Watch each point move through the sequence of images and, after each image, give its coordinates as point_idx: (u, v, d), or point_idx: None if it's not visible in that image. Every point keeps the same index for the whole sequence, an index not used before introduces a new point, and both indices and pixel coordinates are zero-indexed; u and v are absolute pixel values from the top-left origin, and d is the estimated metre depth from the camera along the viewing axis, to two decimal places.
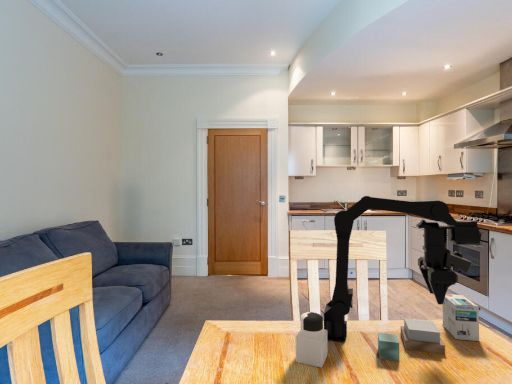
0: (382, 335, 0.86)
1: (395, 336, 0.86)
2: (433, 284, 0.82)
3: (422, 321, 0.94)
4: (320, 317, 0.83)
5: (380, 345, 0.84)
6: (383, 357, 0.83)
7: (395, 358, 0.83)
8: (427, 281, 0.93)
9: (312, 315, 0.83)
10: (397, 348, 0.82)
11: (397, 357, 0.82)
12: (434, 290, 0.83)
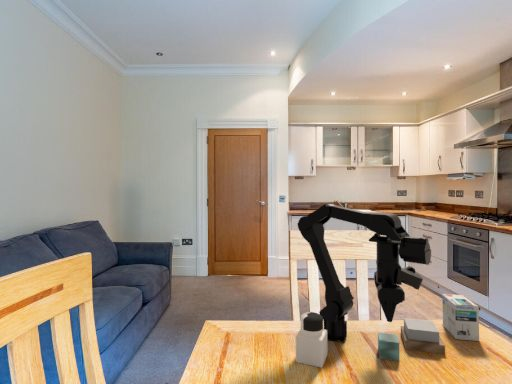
0: (382, 335, 0.86)
1: (395, 336, 0.86)
2: (382, 301, 0.80)
3: (422, 321, 0.94)
4: (320, 317, 0.83)
5: (380, 345, 0.84)
6: (383, 357, 0.83)
7: (395, 358, 0.83)
8: None
9: (312, 315, 0.83)
10: (397, 348, 0.82)
11: (397, 357, 0.82)
12: (383, 307, 0.80)
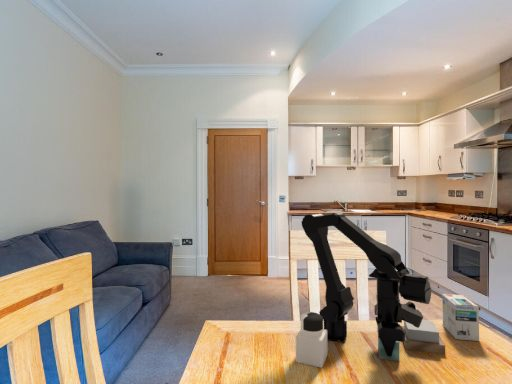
0: None
1: None
2: None
3: (422, 321, 0.94)
4: (320, 317, 0.83)
5: (380, 345, 0.84)
6: (383, 357, 0.84)
7: (395, 358, 0.83)
8: None
9: (312, 315, 0.83)
10: (397, 348, 0.82)
11: (397, 356, 0.82)
12: (383, 342, 0.82)
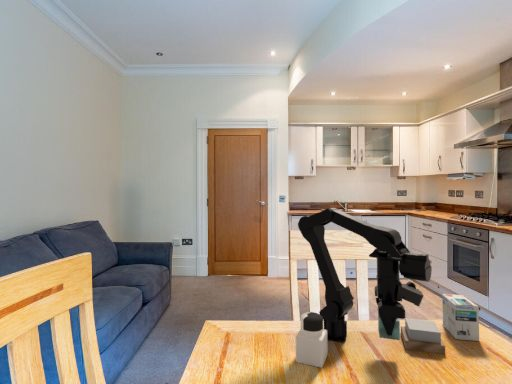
0: None
1: None
2: None
3: (423, 321, 0.94)
4: (320, 317, 0.83)
5: (380, 324, 0.84)
6: (383, 336, 0.83)
7: (396, 337, 0.82)
8: None
9: (312, 315, 0.83)
10: (397, 327, 0.82)
11: (397, 335, 0.82)
12: (383, 321, 0.82)
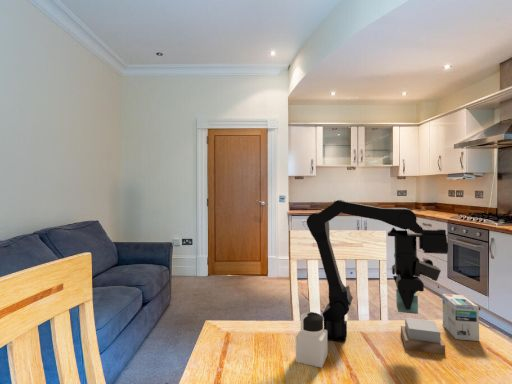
0: None
1: None
2: (400, 290, 0.85)
3: (423, 321, 0.94)
4: (320, 317, 0.83)
5: (399, 299, 0.87)
6: (402, 310, 0.87)
7: (414, 311, 0.86)
8: None
9: (312, 315, 0.83)
10: (415, 301, 0.85)
11: (416, 310, 0.85)
12: (401, 296, 0.85)
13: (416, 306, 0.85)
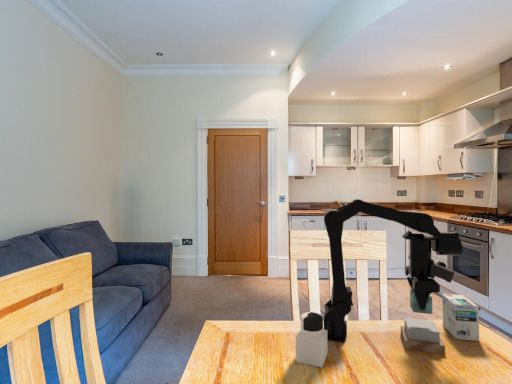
0: None
1: None
2: (416, 291, 0.88)
3: (422, 321, 0.94)
4: (320, 317, 0.83)
5: (414, 299, 0.90)
6: (417, 310, 0.90)
7: (428, 311, 0.89)
8: None
9: (312, 315, 0.83)
10: (430, 302, 0.89)
11: (430, 310, 0.89)
12: (417, 297, 0.88)
13: (430, 306, 0.89)
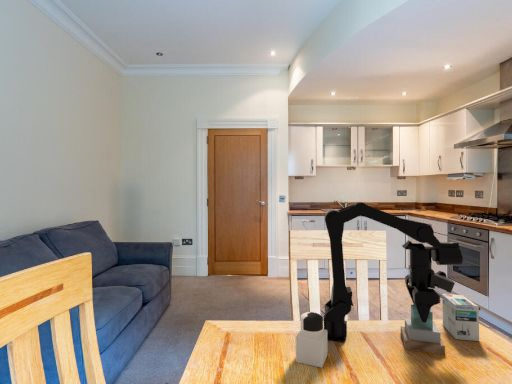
0: (415, 307, 0.93)
1: None
2: (417, 303, 0.86)
3: None
4: (320, 317, 0.83)
5: (414, 315, 0.90)
6: (417, 326, 0.90)
7: (429, 327, 0.89)
8: (413, 299, 0.96)
9: (312, 315, 0.83)
10: (430, 317, 0.89)
11: (430, 325, 0.89)
12: (418, 309, 0.87)
13: (431, 322, 0.89)
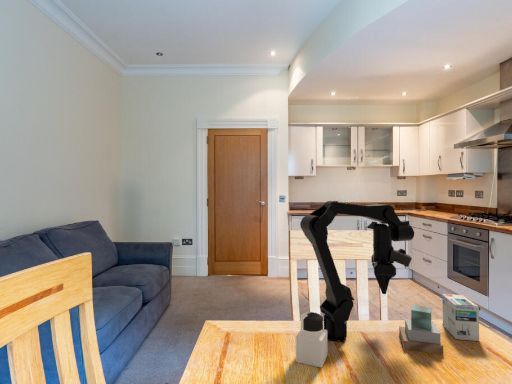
0: (415, 307, 0.93)
1: (429, 308, 0.92)
2: (377, 276, 0.96)
3: None
4: (320, 317, 0.83)
5: (412, 314, 0.91)
6: (415, 325, 0.90)
7: (427, 327, 0.89)
8: None
9: (312, 315, 0.83)
10: (428, 318, 0.88)
11: (428, 326, 0.88)
12: (378, 282, 0.96)
13: (429, 323, 0.88)
